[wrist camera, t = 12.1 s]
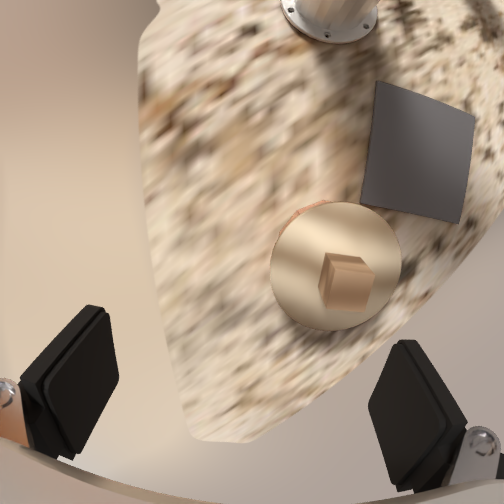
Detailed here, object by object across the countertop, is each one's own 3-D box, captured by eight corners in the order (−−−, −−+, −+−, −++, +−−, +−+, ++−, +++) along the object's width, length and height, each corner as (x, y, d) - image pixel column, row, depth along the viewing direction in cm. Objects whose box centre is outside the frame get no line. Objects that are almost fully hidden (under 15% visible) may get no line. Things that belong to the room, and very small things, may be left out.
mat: (376, 81, 32) (377, 80, 32) (472, 117, 32) (475, 116, 32) (359, 202, 37) (361, 203, 37) (456, 223, 37) (458, 224, 37)
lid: (280, 191, 31) (285, 200, 26) (411, 214, 31) (437, 227, 26) (260, 319, 36) (260, 349, 30) (378, 330, 36) (393, 358, 30)
